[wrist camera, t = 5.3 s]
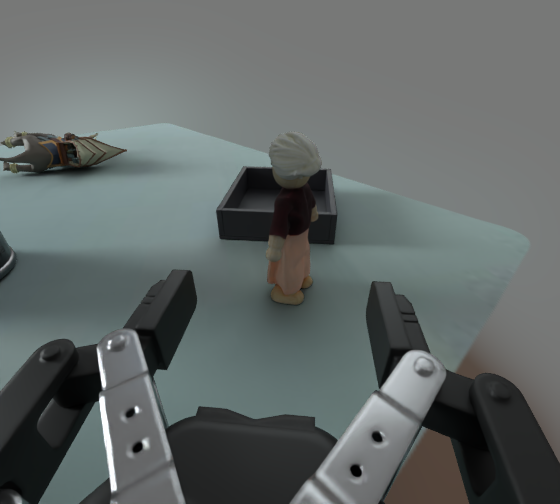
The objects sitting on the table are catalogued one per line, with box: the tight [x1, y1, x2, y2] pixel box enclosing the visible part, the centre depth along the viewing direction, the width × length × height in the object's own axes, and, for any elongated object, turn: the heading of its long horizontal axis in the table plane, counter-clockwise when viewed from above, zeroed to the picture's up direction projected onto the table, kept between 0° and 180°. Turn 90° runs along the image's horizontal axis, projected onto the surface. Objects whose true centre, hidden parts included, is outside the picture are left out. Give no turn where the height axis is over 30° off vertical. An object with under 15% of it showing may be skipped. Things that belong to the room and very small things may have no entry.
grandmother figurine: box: [266, 132, 322, 305], centre depth 22 cm, size 8×4×13 cm, turn 165°
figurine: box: [0, 131, 127, 173], centre depth 52 cm, size 20×6×17 cm
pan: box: [216, 166, 337, 244], centre depth 37 cm, size 12×14×3 cm
